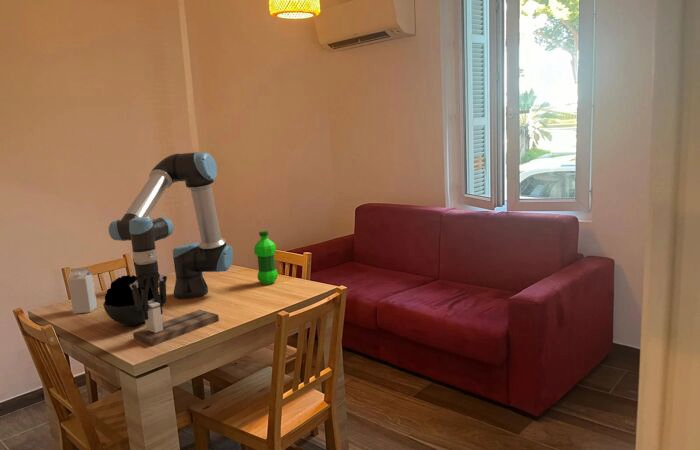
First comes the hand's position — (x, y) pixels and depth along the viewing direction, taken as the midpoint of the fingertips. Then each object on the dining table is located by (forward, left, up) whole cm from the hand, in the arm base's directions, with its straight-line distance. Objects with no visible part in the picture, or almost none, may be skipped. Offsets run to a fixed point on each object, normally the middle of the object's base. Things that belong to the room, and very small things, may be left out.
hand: (154, 325), depth 184 cm
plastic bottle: (-17, +69, -5) cm, 71 cm away
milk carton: (-58, +1, -5) cm, 58 cm away
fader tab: (0, 0, -2) cm, 2 cm away
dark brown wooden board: (0, +9, -5) cm, 10 cm away
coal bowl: (-22, +4, -5) cm, 23 cm away
